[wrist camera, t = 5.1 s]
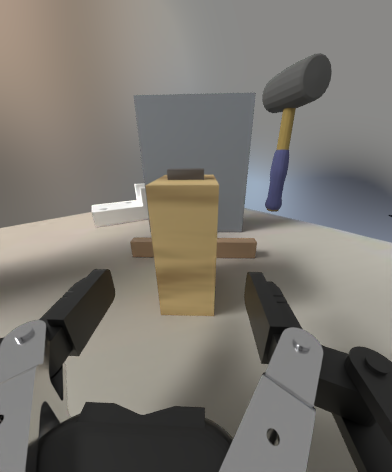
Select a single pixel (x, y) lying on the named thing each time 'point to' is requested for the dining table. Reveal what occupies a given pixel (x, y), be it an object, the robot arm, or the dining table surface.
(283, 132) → the rubber mallet
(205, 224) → the ochre block
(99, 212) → the bracket
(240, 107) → the wall board
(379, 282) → the dining table surface
